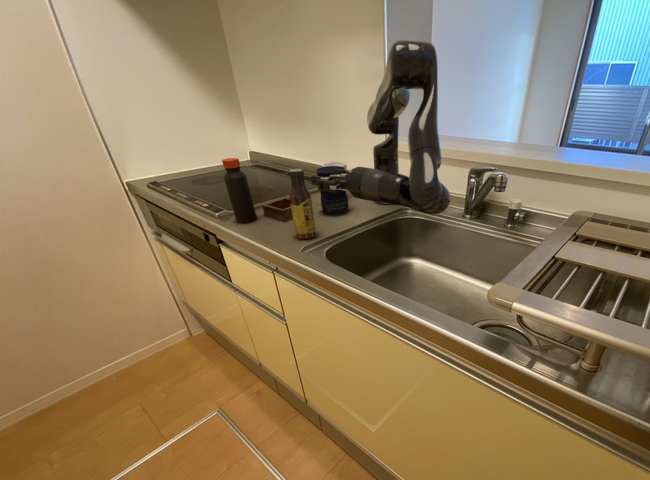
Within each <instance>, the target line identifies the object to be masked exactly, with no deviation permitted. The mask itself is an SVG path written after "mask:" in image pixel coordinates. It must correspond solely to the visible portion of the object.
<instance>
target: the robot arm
mask: <svg viewBox="0 0 650 480" xmlns="http://www.w3.org/2000/svg"><path fill="white" fill-rule="evenodd" d="M438 67H439V66H438V56H437V50H436V48H435V46H434V45H433V43H432V42H429V41H421V40H420V41H419V40H396V41H394V42H393V44H392V45H391V46H390V48H389V51H388V54H387V58H386V65H385V68H384V74H383V76H382V79H381V82H380V84H379V86H378V88H377V92H376V95H375V98H374V100H373V102H372V103H371V104H370V106H369V108H368V110H367V115H366V123H367V124H366V125H367V128H368V130H369V132H370V133H371V134H373V135H377V136H380V135H387V137H386V139H384V140H383V141H382V142H380V143H378V144H375V145H374V146H373V148H372V155H373V156H372V157H373V167H365V166H356V167H354V168H351V169H349V168H347V170H341V169H334V175H330V177H319V176H317V175H311V176H310V180H311V185H313V186H317V190H318V191H319V192H320V191H326V192H332V193H338V190H343V191H346V192H347V191H348V192H349V193H350V195H351V196H352V197H354V198H355V199H358V200H359V199H360V200H363V201H364V200H365V201H368V202H373V203H374V202H375V203H377V204H380V205H393V206H402V207H406V208H408V209H410V210H411V209H412V210H413V211H414V210H415V211H417V212H420V213H423V214H427V215H439V214H441V213H444V212H445V211H446V210H447V209H448V208H449V206H450V204H451V193H450V190H449V189H448V187H446V185H444V184H443V183H442V182H441V181H440V179H439V175H438V170H439V169H440V167H441V165H442V151H441V150H442V149H441V141H440V136H439V123H438V116H439V115H438V111H439V110H438V108H439V81H438V80H439V70H438V69H439V68H438ZM410 90H422V100H421V103H420V105H419V108H418V110H417V112H416V114H415V115H414V117H413V119H412V121H411V123H410V125H409V129H408V133H407V145H408V153H409V161H410V166H409V175H406V174H402V173H400V172H399V164H400V163H399V134H400V132H399V130H400V116H402V114H403V113H404V111H405V110H406V108H407V107H408V105H409V103H410V99H411V91H410ZM333 178H336V181H333ZM329 180H330V181H329Z"/></svg>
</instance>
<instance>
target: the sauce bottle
mask: <svg viewBox="0 0 650 480" xmlns="http://www.w3.org/2000/svg"><path fill="white" fill-rule="evenodd" d="M288 175H289V177H290V183H291V188H290V192H289V198H290V202H291V209H292V215H293V219H292V220H293V221H292V222H293V226H294V231H295V233H296V237H297V238H298V239H301V240H308V239H312V238H314V237H316V235H317V228H316V219H315V214H314V207H313V200H312V196H311V194H310V192H309V189H308V188H307V187H306V182H305V177H304V175H305V172H304V169H302V168H291V169H289V170H288Z"/></svg>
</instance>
